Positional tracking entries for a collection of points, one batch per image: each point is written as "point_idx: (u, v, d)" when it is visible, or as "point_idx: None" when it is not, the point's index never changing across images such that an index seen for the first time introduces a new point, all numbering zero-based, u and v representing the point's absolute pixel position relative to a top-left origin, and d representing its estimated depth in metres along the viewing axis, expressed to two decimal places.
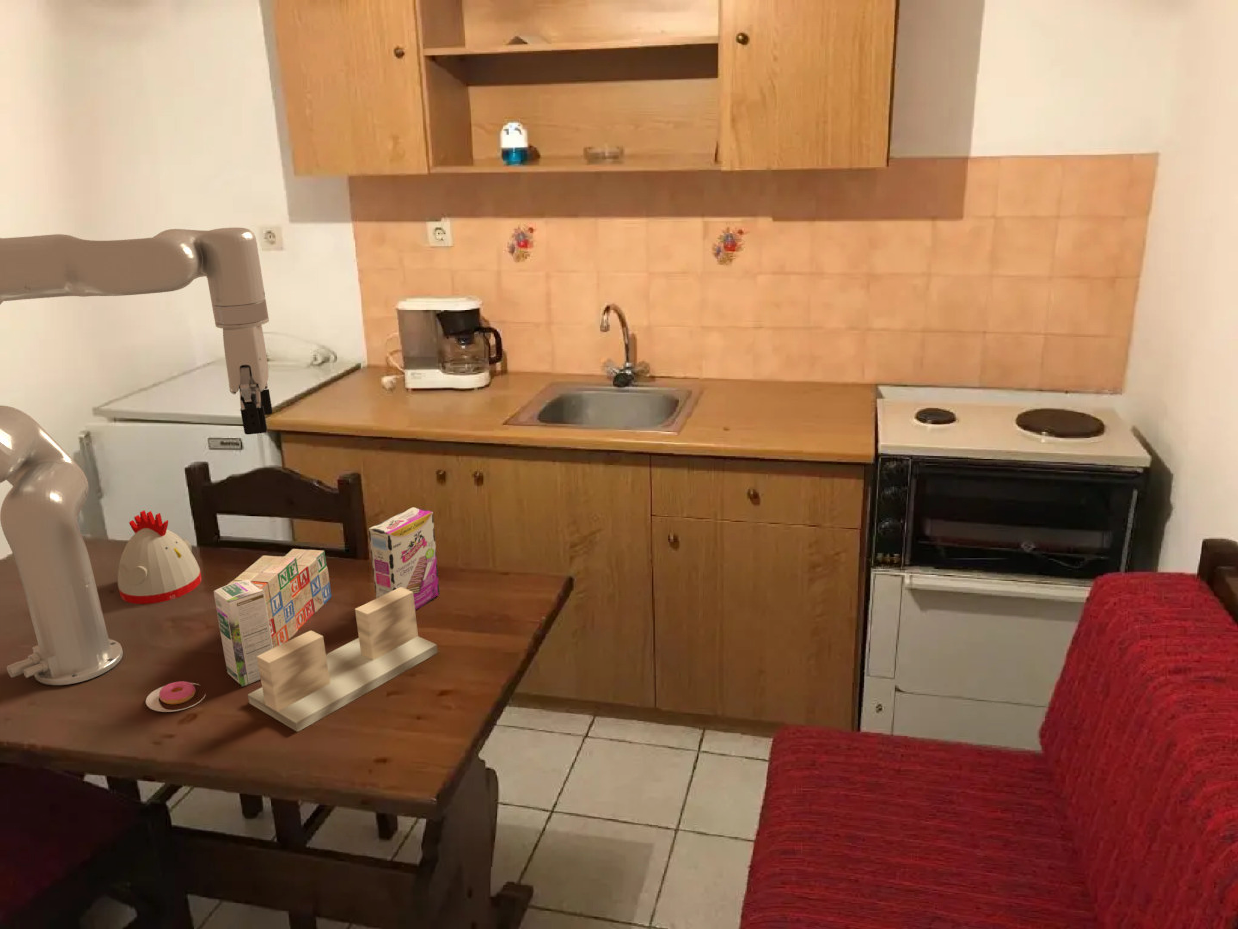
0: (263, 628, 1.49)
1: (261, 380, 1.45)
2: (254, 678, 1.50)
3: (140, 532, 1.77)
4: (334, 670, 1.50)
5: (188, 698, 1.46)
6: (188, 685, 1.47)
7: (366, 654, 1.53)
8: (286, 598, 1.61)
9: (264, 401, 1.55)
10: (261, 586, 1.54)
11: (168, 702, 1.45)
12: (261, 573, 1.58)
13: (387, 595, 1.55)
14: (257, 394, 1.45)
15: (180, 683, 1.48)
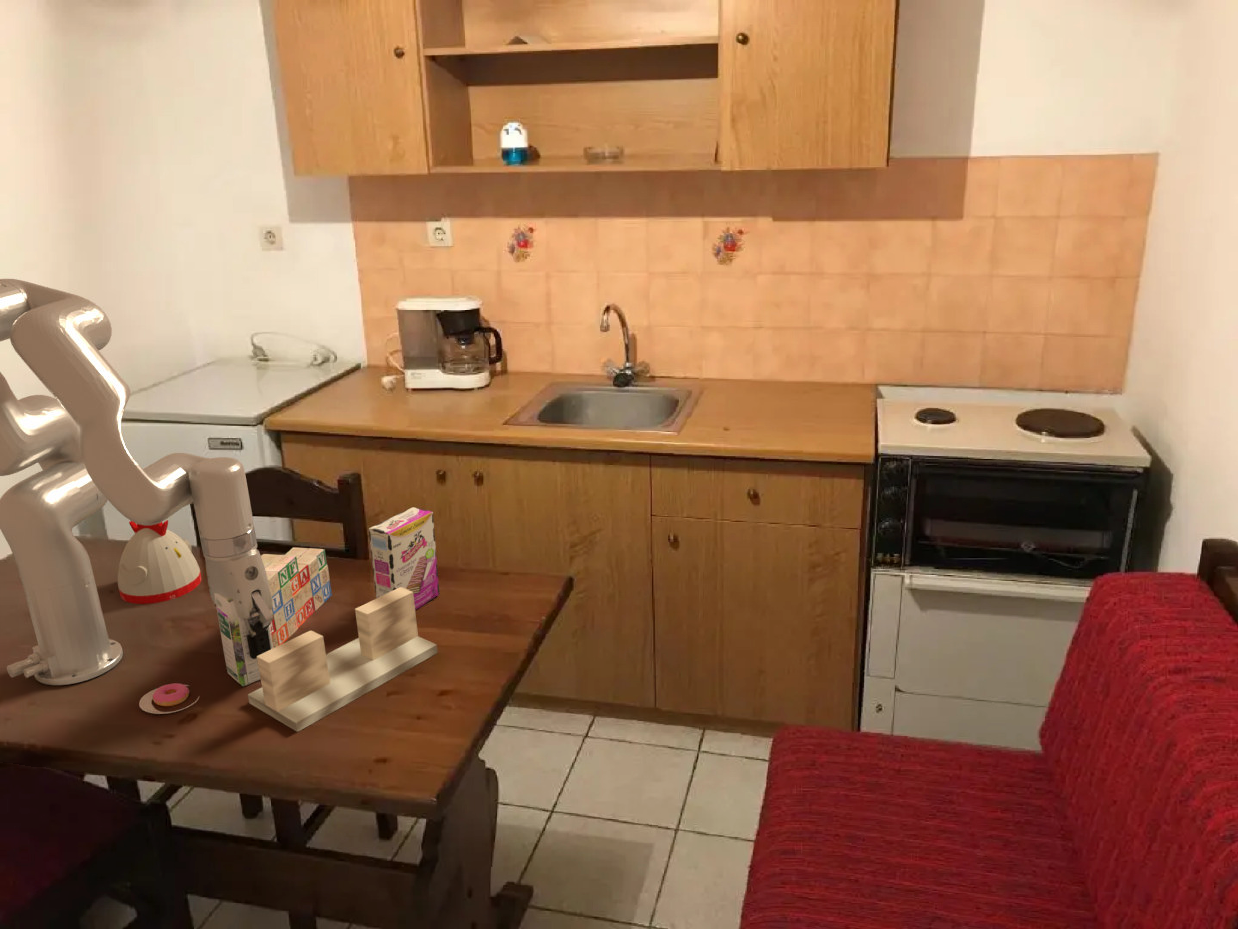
0: None
1: (210, 593, 1.49)
2: (254, 678, 1.50)
3: (140, 532, 1.77)
4: (334, 670, 1.50)
5: (182, 700, 1.45)
6: (182, 687, 1.47)
7: (366, 654, 1.53)
8: (286, 596, 1.61)
9: None
10: None
11: (162, 704, 1.44)
12: None
13: (387, 595, 1.55)
14: None
15: (174, 685, 1.47)
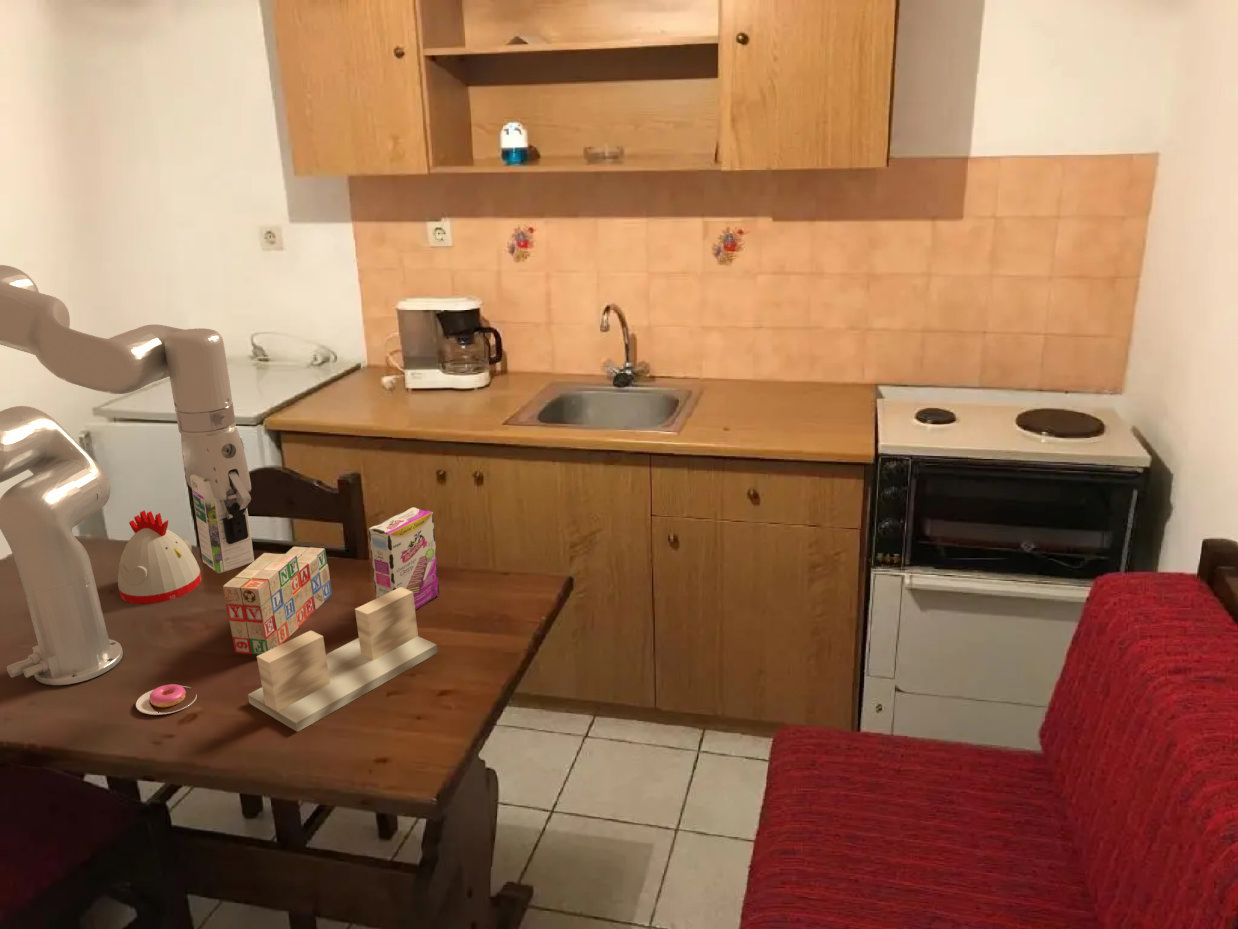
0: None
1: (186, 475, 1.43)
2: (230, 565, 1.43)
3: (140, 532, 1.77)
4: (334, 670, 1.50)
5: (179, 701, 1.45)
6: (178, 688, 1.47)
7: (366, 654, 1.53)
8: (286, 595, 1.62)
9: None
10: (262, 583, 1.55)
11: (158, 705, 1.44)
12: (262, 570, 1.59)
13: (387, 595, 1.55)
14: None
15: (171, 686, 1.47)
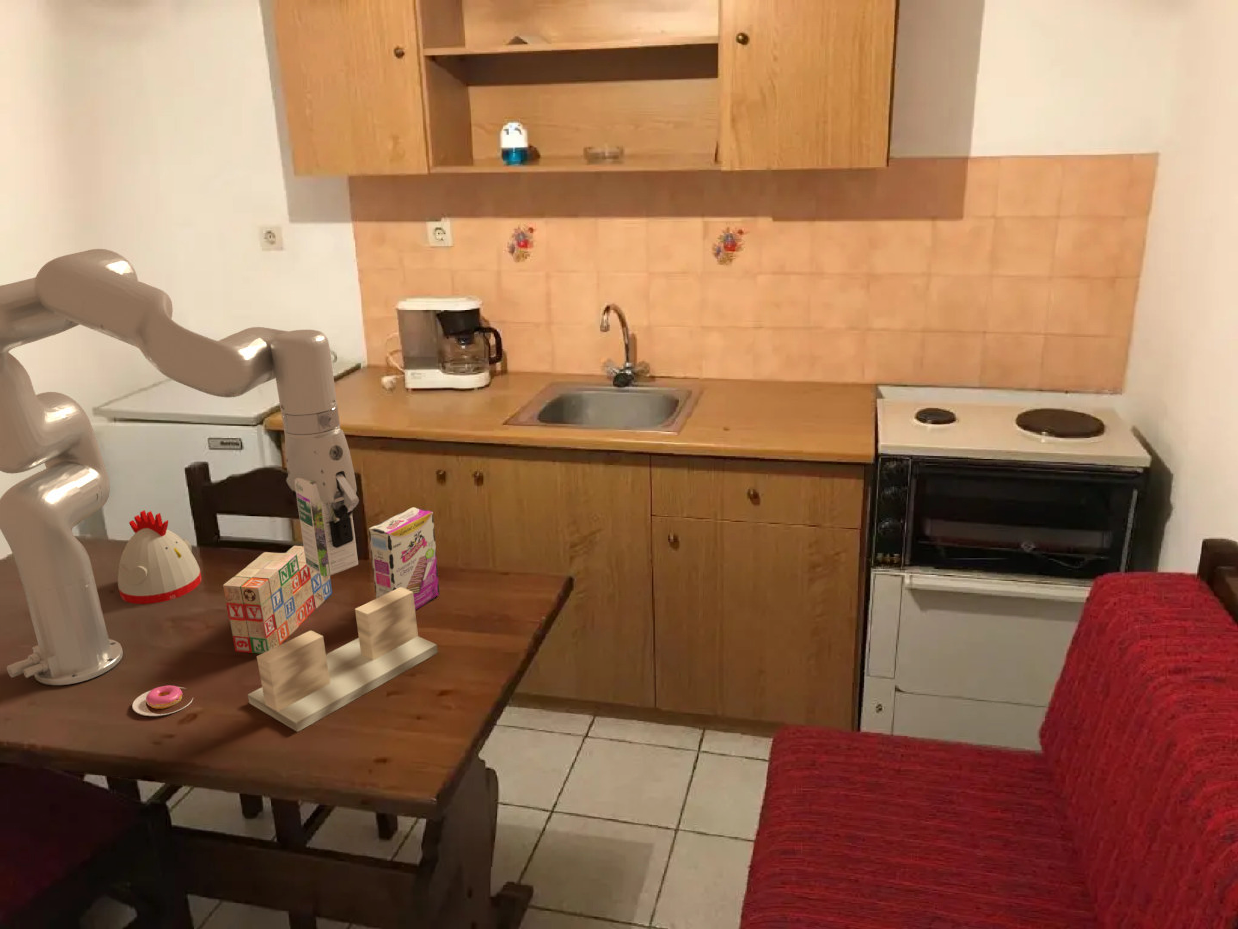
0: None
1: (289, 479, 1.41)
2: (336, 569, 1.41)
3: (140, 532, 1.77)
4: (334, 670, 1.50)
5: (175, 702, 1.45)
6: (175, 689, 1.46)
7: (366, 654, 1.53)
8: (286, 594, 1.62)
9: None
10: (262, 582, 1.55)
11: (155, 706, 1.44)
12: (262, 569, 1.59)
13: (387, 595, 1.55)
14: None
15: (167, 687, 1.47)
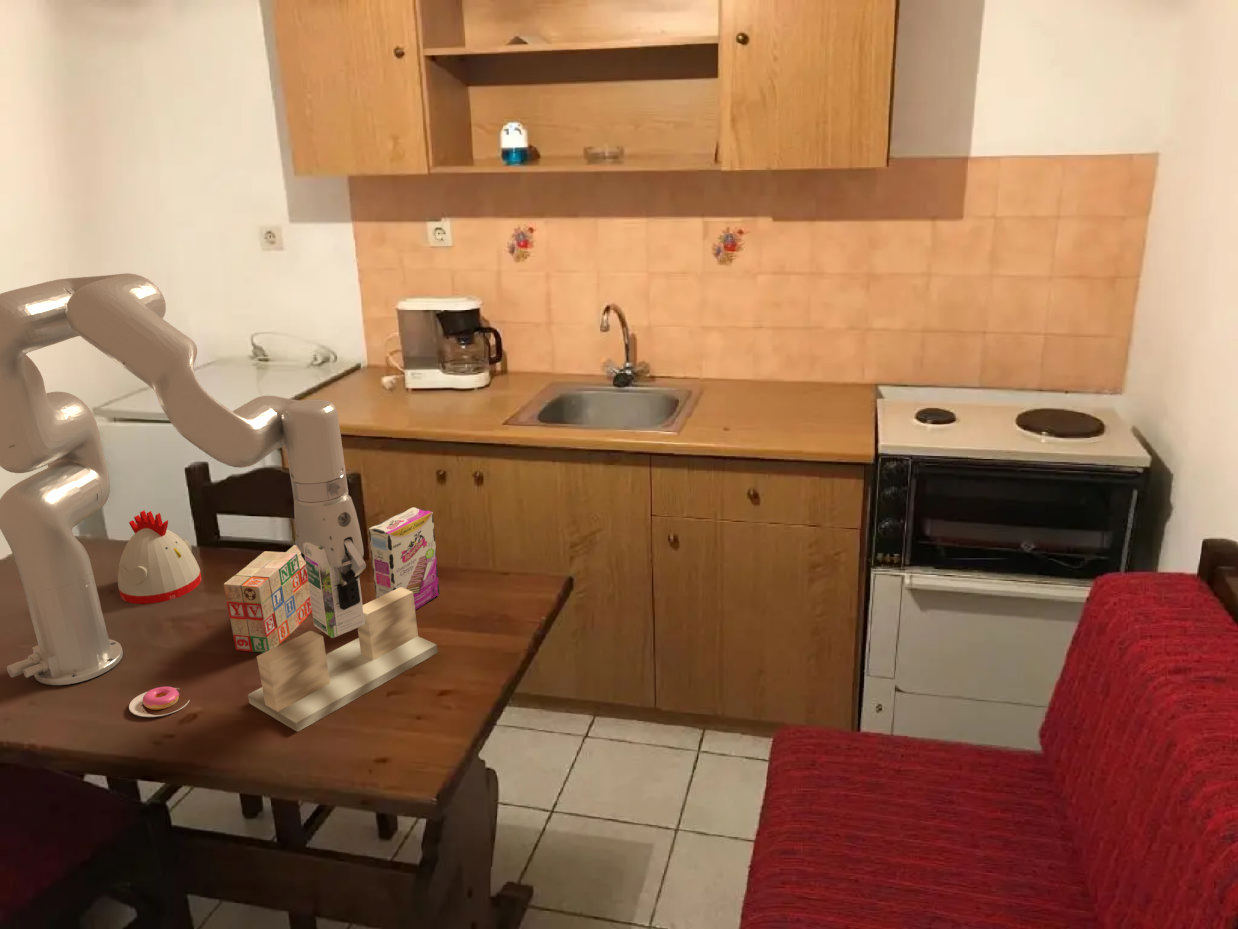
0: None
1: (298, 542, 1.44)
2: (343, 630, 1.45)
3: (140, 532, 1.77)
4: (334, 670, 1.50)
5: (172, 703, 1.45)
6: (172, 690, 1.46)
7: (366, 654, 1.53)
8: (287, 593, 1.62)
9: None
10: (262, 581, 1.56)
11: (152, 707, 1.44)
12: (262, 568, 1.60)
13: (387, 595, 1.55)
14: None
15: (164, 688, 1.47)
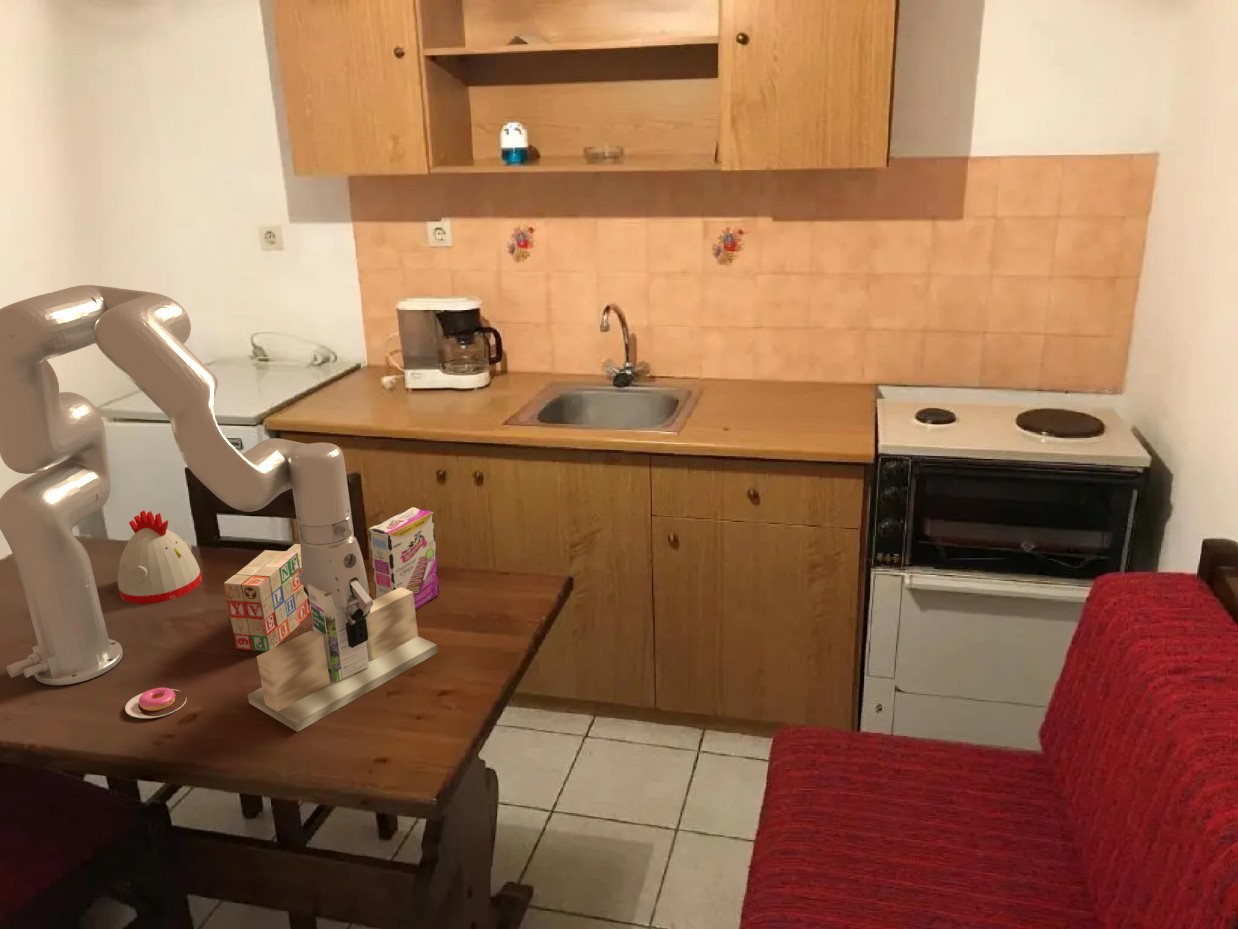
0: None
1: (304, 581, 1.47)
2: (348, 673, 1.48)
3: (140, 532, 1.77)
4: None
5: (168, 704, 1.44)
6: (168, 691, 1.46)
7: None
8: (287, 592, 1.63)
9: None
10: (262, 580, 1.56)
11: (148, 709, 1.43)
12: (263, 567, 1.60)
13: (387, 595, 1.55)
14: None
15: (160, 689, 1.46)
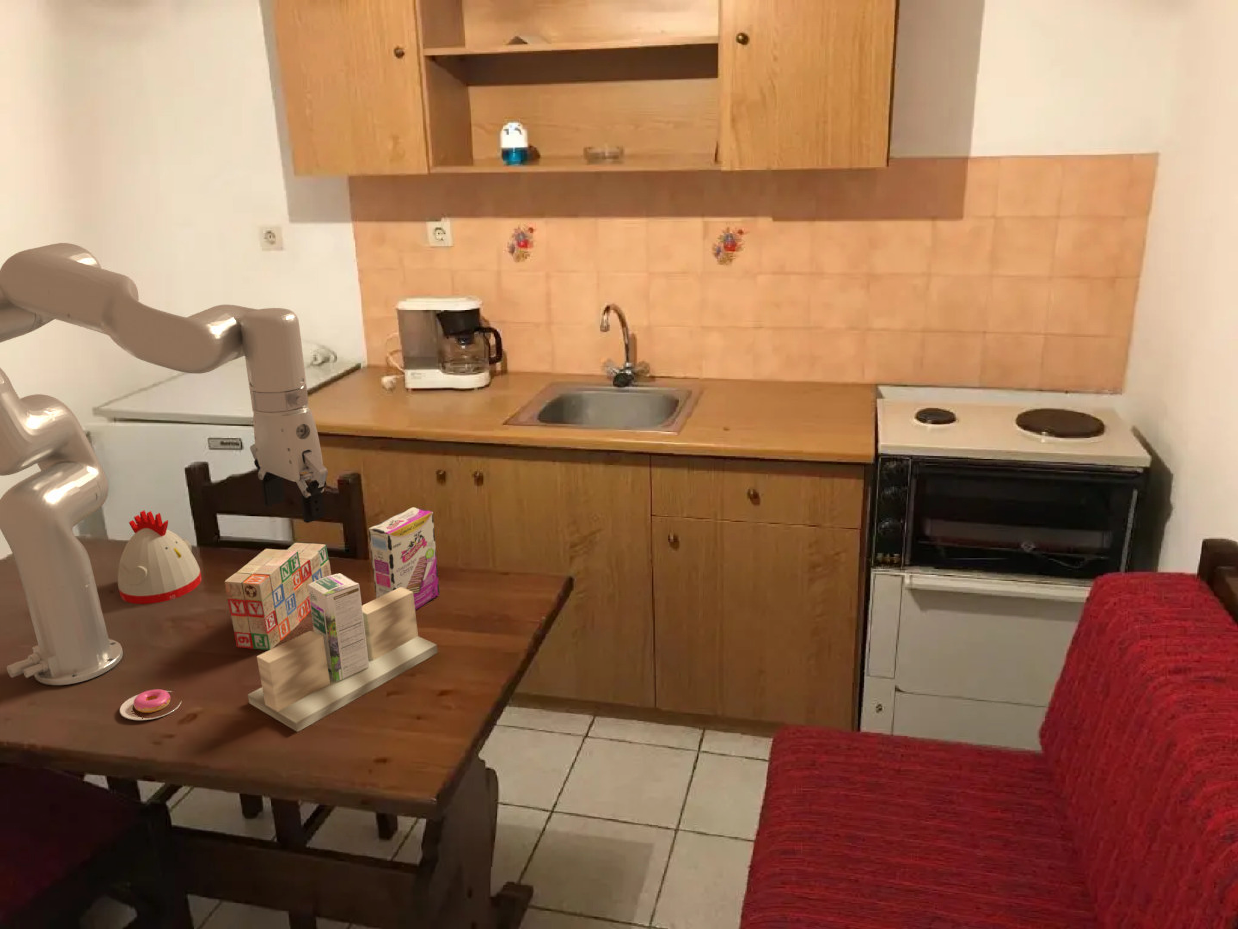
0: (358, 622, 1.47)
1: (257, 457, 1.42)
2: (348, 673, 1.48)
3: (140, 532, 1.77)
4: None
5: (163, 706, 1.44)
6: (163, 693, 1.45)
7: None
8: (288, 590, 1.63)
9: None
10: (263, 578, 1.57)
11: (143, 710, 1.43)
12: (263, 566, 1.60)
13: (387, 595, 1.55)
14: None
15: (155, 691, 1.46)
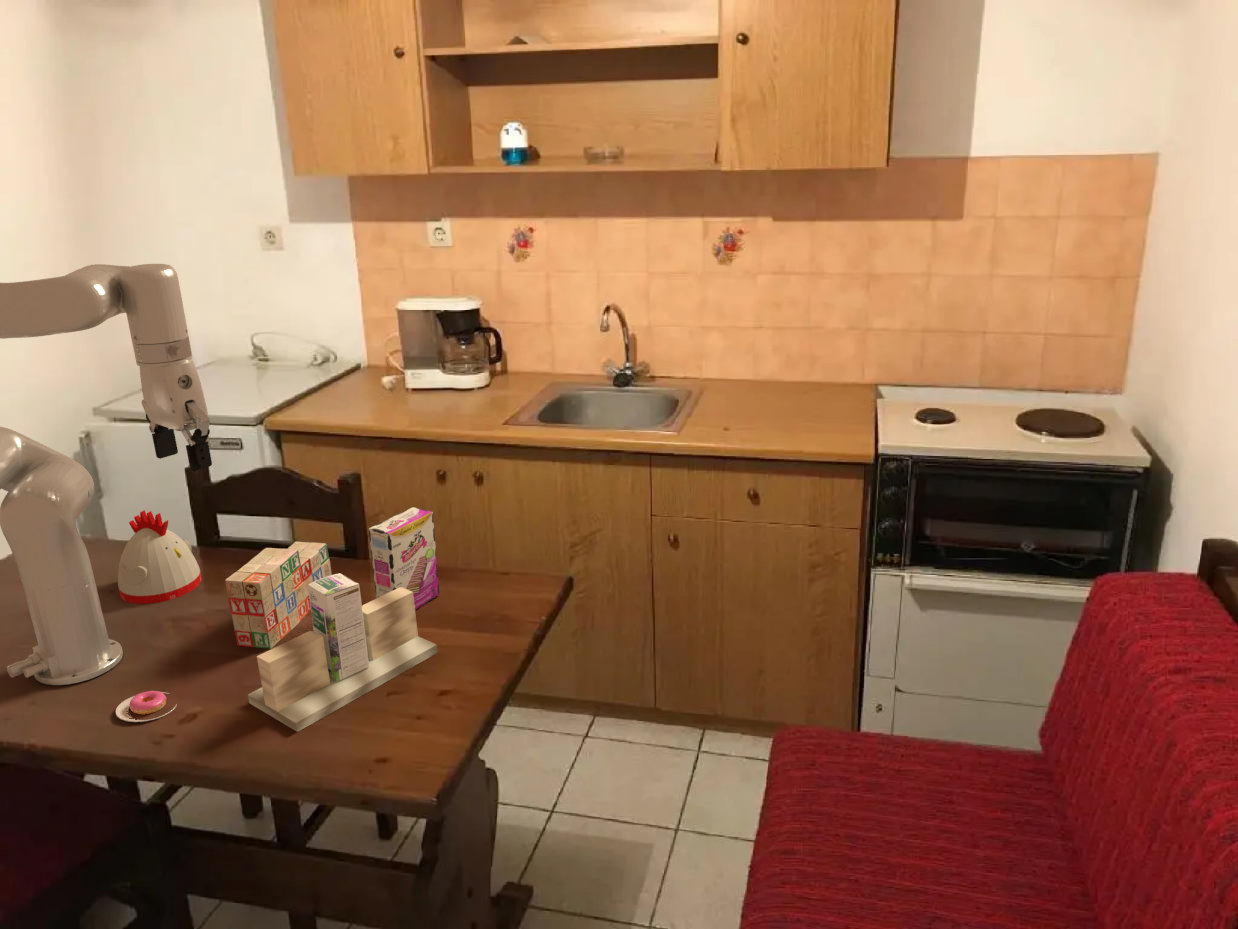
0: (358, 622, 1.47)
1: (146, 410, 1.47)
2: (348, 673, 1.48)
3: (140, 532, 1.77)
4: None
5: (159, 707, 1.44)
6: (159, 694, 1.45)
7: None
8: (288, 589, 1.64)
9: None
10: (263, 577, 1.57)
11: (139, 712, 1.43)
12: (264, 565, 1.61)
13: (387, 595, 1.55)
14: None
15: (151, 693, 1.46)
